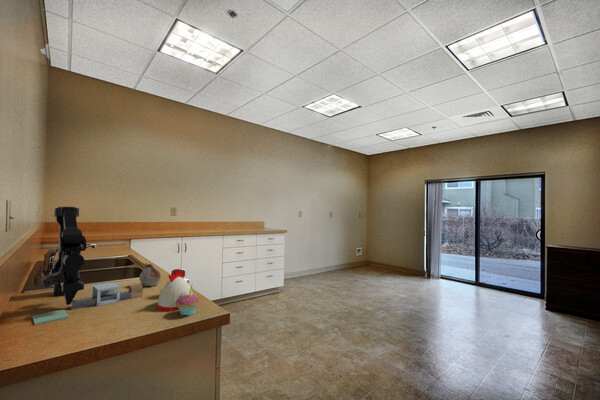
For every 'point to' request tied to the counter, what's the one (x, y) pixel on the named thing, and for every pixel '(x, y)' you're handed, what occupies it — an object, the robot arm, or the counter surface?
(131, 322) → the counter surface
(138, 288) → the block
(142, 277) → the grey rounded lump
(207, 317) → the counter surface
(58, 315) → the coaster
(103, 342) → the counter surface
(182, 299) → the cupcake
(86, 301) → the bar
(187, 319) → the counter surface
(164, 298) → the kitchen timer
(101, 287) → the tunnel
